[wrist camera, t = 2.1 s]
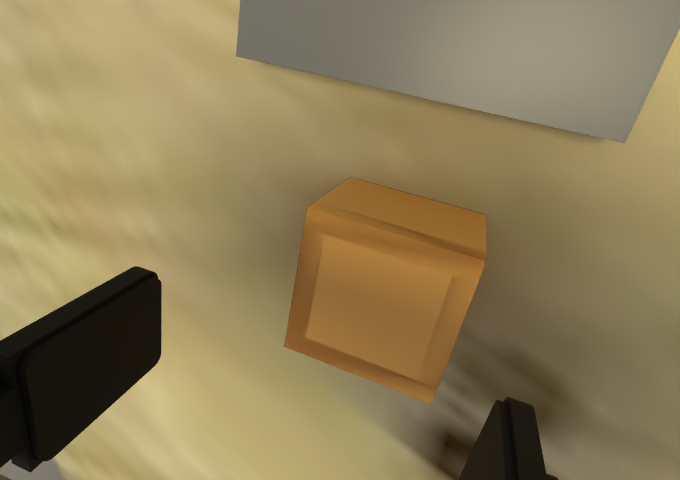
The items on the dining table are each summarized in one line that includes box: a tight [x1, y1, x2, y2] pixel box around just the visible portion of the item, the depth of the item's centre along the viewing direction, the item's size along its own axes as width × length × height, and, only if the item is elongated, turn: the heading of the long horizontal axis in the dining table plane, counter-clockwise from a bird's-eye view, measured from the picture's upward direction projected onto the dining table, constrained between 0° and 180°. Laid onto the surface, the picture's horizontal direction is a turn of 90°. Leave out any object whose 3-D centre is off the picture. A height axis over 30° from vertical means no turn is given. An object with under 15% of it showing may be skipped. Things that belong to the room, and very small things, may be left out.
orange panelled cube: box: [284, 178, 486, 404], centre depth 17 cm, size 6×6×5 cm
